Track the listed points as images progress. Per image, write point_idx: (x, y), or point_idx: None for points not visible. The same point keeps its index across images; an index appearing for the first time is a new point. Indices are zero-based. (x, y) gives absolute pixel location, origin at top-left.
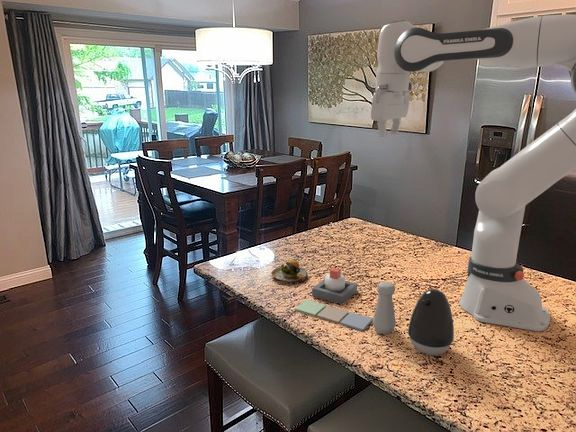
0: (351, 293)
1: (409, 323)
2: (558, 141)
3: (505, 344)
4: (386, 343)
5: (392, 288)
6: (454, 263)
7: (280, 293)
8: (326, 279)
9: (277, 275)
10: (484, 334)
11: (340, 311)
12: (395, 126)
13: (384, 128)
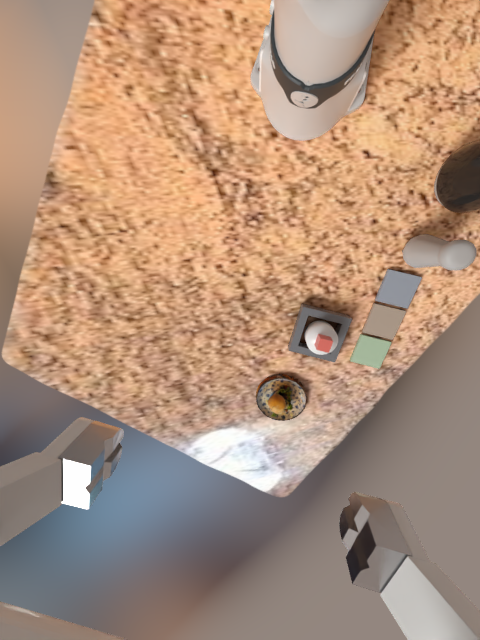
0: (321, 309)
1: (477, 210)
2: None
3: (429, 59)
4: None
5: (472, 243)
6: (133, 154)
7: (334, 394)
8: (332, 350)
9: (285, 411)
10: (402, 96)
11: (376, 313)
12: (48, 489)
13: (465, 598)
